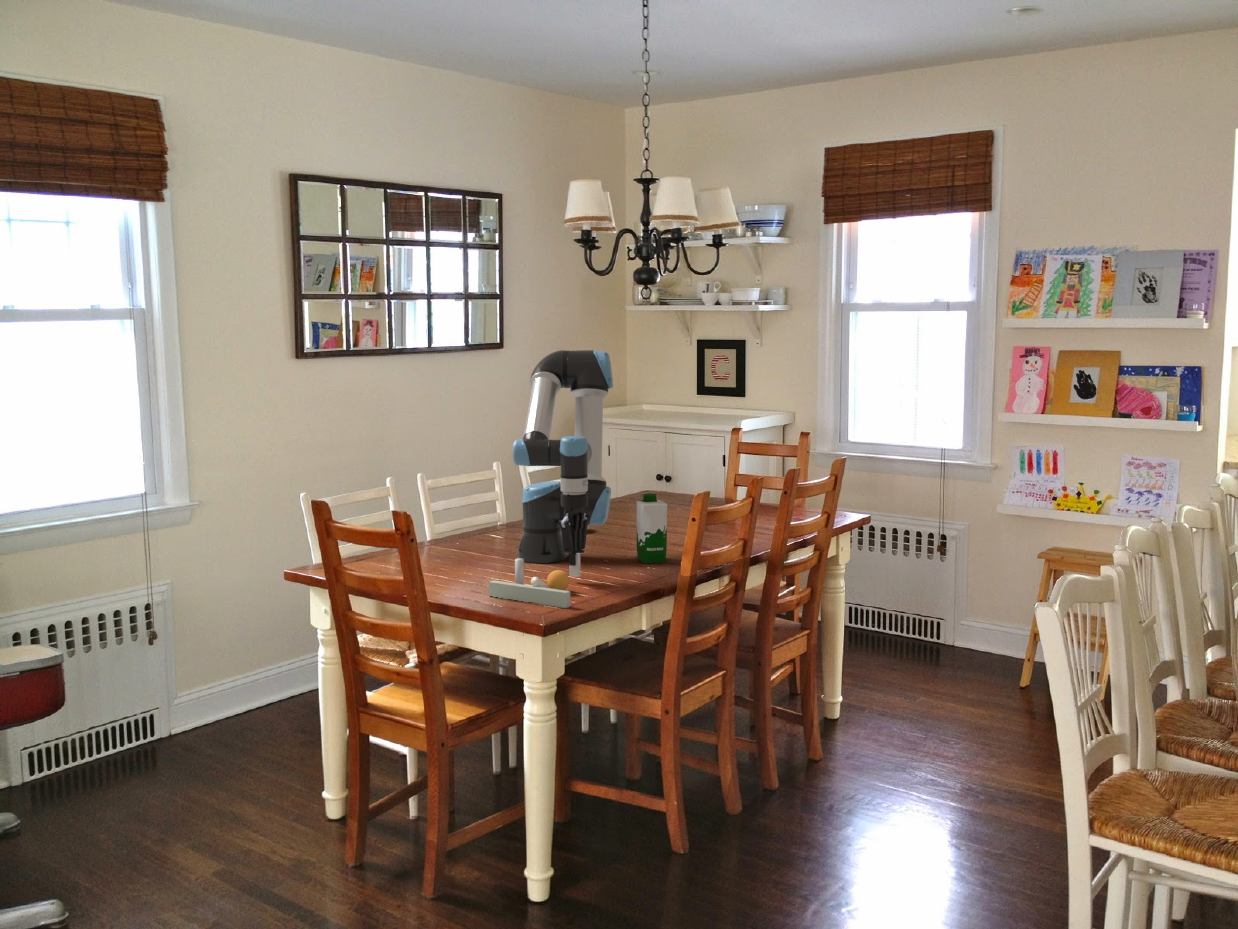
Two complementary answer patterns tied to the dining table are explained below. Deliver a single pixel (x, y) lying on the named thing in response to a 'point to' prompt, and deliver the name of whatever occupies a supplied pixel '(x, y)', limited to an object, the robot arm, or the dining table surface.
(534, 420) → the robot arm
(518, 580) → the grey pin
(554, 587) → the ball
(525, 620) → the dining table surface
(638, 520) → the milk carton
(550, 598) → the wall
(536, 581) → the pin
